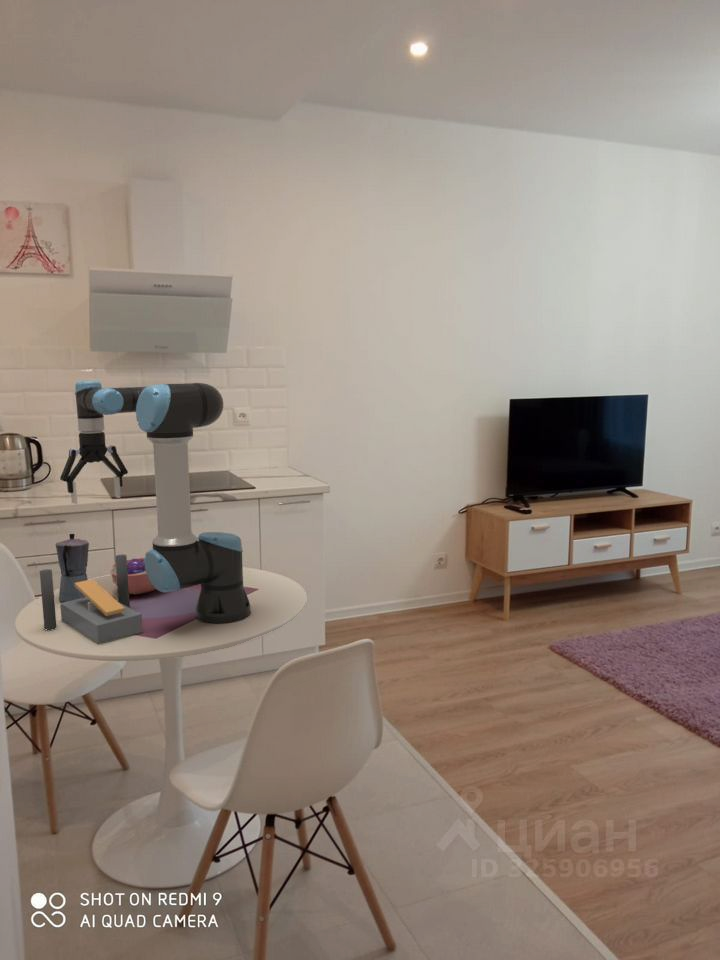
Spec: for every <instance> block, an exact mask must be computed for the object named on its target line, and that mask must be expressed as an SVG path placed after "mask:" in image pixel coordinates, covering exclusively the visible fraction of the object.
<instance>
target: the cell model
mask: <svg viewBox="0 0 720 960" xmlns="http://www.w3.org/2000/svg"><path fill="white" fill-rule="evenodd" d="M144 558H145V557H140V558H132V559H127V571H128V586H129V595H134V596H136V595H141V594H147V593H151V592H153V591H155V590H157V589H156V588H155V587H154V586H153V585H152V583H151V581H150V580H149V578H148V575H147V573H146V569H145V564H144ZM111 568H112V569H111V570H110V575H111V579H112V583H114V584H115V586H117V573H116V563H114V564H112V566H111Z"/></svg>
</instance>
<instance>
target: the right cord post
mask: <svg viewBox="0 0 720 960" xmlns="http://www.w3.org/2000/svg"><path fill="white" fill-rule="evenodd" d="M127 557H128V556H127V554H118V555H115V564H116V573H117V585H116V586H117V599H118V601H117V602H119V603H121V604H123V605H125V606H127V607H129V608H131V606H130V605H131V604H130V593H129V586H128V571H127V560H128V559H127Z"/></svg>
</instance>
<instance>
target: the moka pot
mask: <svg viewBox="0 0 720 960" xmlns="http://www.w3.org/2000/svg"><path fill="white" fill-rule="evenodd" d="M89 544H90V543H89V542H88V540H85V539H80V538H75V533H70V534H69V539H66V540H62V541H61V540H60V541H58V542H56V543H55V549H56V553H57V554H56V555H57V561H58V564H59V565H58V566H59V569H60V575H61V576H60V583H59V584H60V585H59V593H58V600H59V602H60V603H63V602H68V601H72V600H76V599H81V598H85V596H84V595H83V594H82V593H81V592H80V591H79V590H78V589H77V588H76V587H75V583H77V582H81V581H86V580H89V579H88V574H87V567H88V559H89V548H90V547H89Z"/></svg>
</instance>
